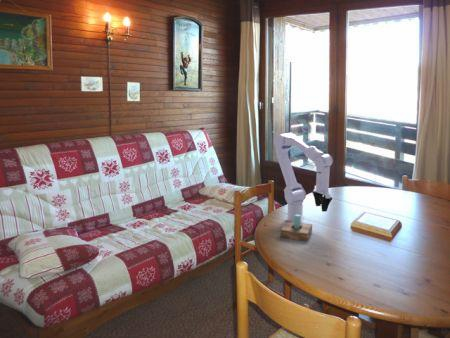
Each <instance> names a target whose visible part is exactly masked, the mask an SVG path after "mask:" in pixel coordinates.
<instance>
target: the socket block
mask: <svg viewBox="0 0 450 338" xmlns="http://www.w3.org/2000/svg"><path fill="white" fill-rule="evenodd" d="M312 232H313V224H311V223H305V222H301V224H300V229H294V222H291V221H286V222H285V223H284V225H283V226H282V227H281V229H280V238H282V239H287V240H289V239H291V240H297V241H303V242H304V241H305V242H308V241H309V239H310V236H311V234H312Z"/></svg>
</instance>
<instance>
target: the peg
mask: <svg viewBox="0 0 450 338" xmlns="http://www.w3.org/2000/svg"><path fill="white" fill-rule="evenodd" d="M301 223H302V222H301V215H294V229H300V224H301Z"/></svg>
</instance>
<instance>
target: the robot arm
mask: <svg viewBox="0 0 450 338" xmlns="http://www.w3.org/2000/svg"><path fill="white" fill-rule="evenodd" d="M272 142H273V144H274V145H273V146H274V147H275V154H276V155H275V156H276V157H277V160H278V164H279V167H280V169H281V173H282V176H283V179H284V182H285V185H286V186H285V188H284V189H283V192H284V199H285V201H286V204H287V217H286V218H285V220H284V221H291V222H294V215H301V223H303V222H302V221H303V220H304V218H305V215H303V213H304V212H303V209H304V207H303V206H304V205H303V204H304V200H305V199H306V197H307V192H306V191H305V189H304V188H303V185H302V184H301V183H299V182H298V181H297V178H296V176H295V172H294V169H293V166H292V163H291V160H290V156H289V154H288V152H289V150H290V149H291V148H292V147H295V148H296V149H297V150H299V151H301V152H303V153H304V156H305V157H306V158H308V159H309V160H311V161H312V162H313V163H314V166H315V167H316V168H315V170H316V178H315V179H316V180H315V185H314V189H313V190H312V191H311V193H312V195H313V198H314V204H315V207H321V212H324V213H325V212H327V211H328V208H329V206H330V204H331V202H332V200H333V197H332V196H331V193H330V190H329V187H330V174H331V173H330V169H331V166H332V164H333V162H334V159H333V157H332V155H330V154H329V153H326V154H325V153H324V151H320V150H319V149H318V148H317V147H316V146H314V145H310V146H309V145H307V144H306V143H305V142H304V141H302V140H301V139H300V138H298V135H296V134H294V133H293V132H291V131H289V132H287V133H285V132H284V133H278V134H276V135H275V136H274V138H273V141H272Z"/></svg>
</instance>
